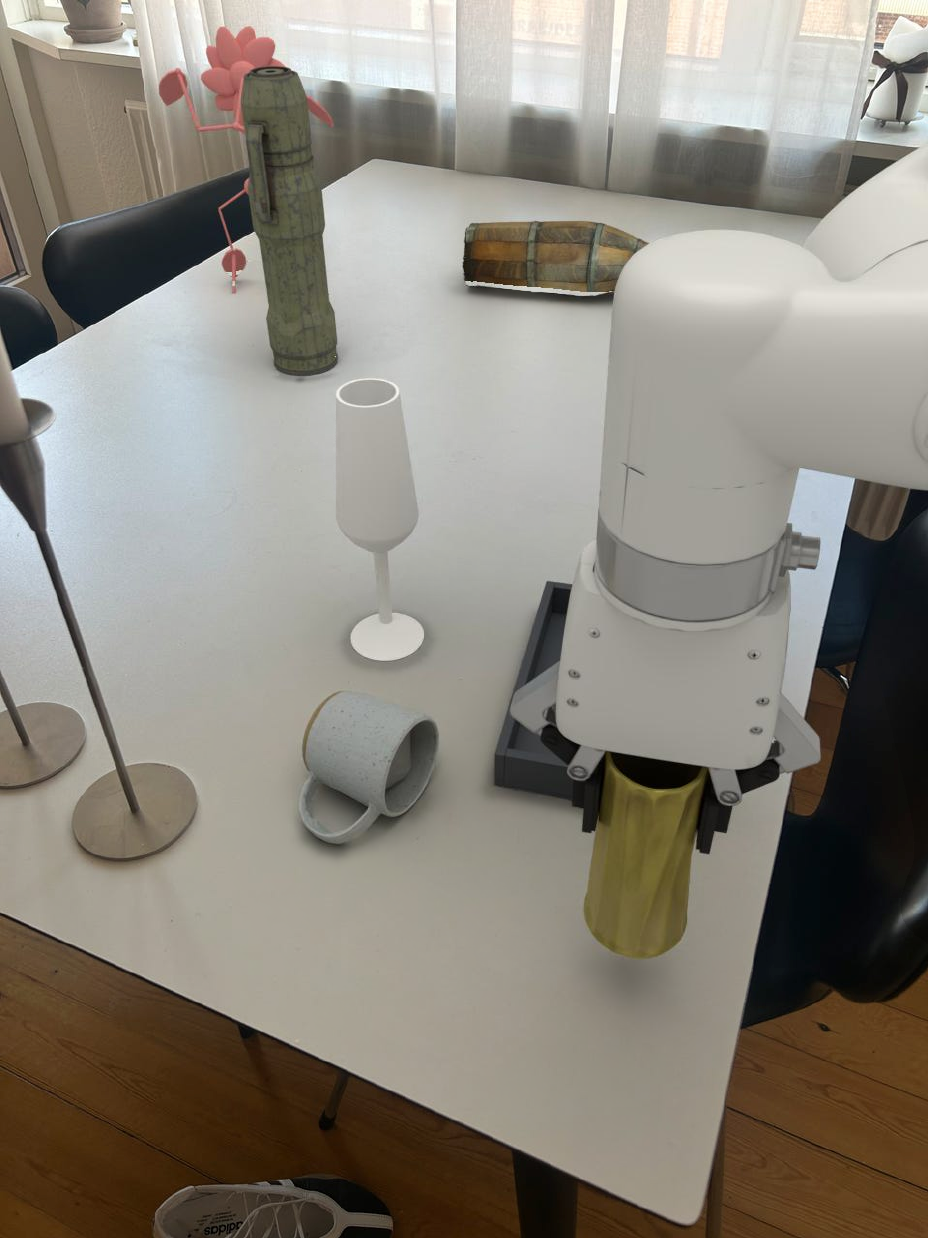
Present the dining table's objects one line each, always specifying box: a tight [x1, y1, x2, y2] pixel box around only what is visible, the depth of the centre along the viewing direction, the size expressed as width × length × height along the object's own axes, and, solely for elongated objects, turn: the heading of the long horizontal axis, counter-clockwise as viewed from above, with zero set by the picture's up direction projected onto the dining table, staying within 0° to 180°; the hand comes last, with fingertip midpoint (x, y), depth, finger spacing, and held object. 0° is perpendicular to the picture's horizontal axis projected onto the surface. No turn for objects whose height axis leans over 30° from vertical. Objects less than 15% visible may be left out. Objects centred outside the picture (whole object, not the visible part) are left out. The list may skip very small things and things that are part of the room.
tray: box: [493, 580, 573, 801], centre depth 79 cm, size 16×22×4 cm
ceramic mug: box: [298, 690, 440, 845], centre depth 71 cm, size 11×8×8 cm
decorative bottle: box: [462, 220, 649, 292], centre depth 144 cm, size 11×11×45 cm
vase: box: [582, 751, 709, 960], centre depth 53 cm, size 6×6×14 cm
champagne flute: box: [335, 377, 425, 662], centre depth 79 cm, size 7×7×24 cm
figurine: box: [158, 25, 335, 293], centre depth 144 cm, size 15×26×35 cm, turn 80°
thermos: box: [241, 66, 339, 377], centre depth 120 cm, size 9×12×35 cm
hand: (647, 820), depth 52 cm, fingers closed on vase, 5 cm apart
